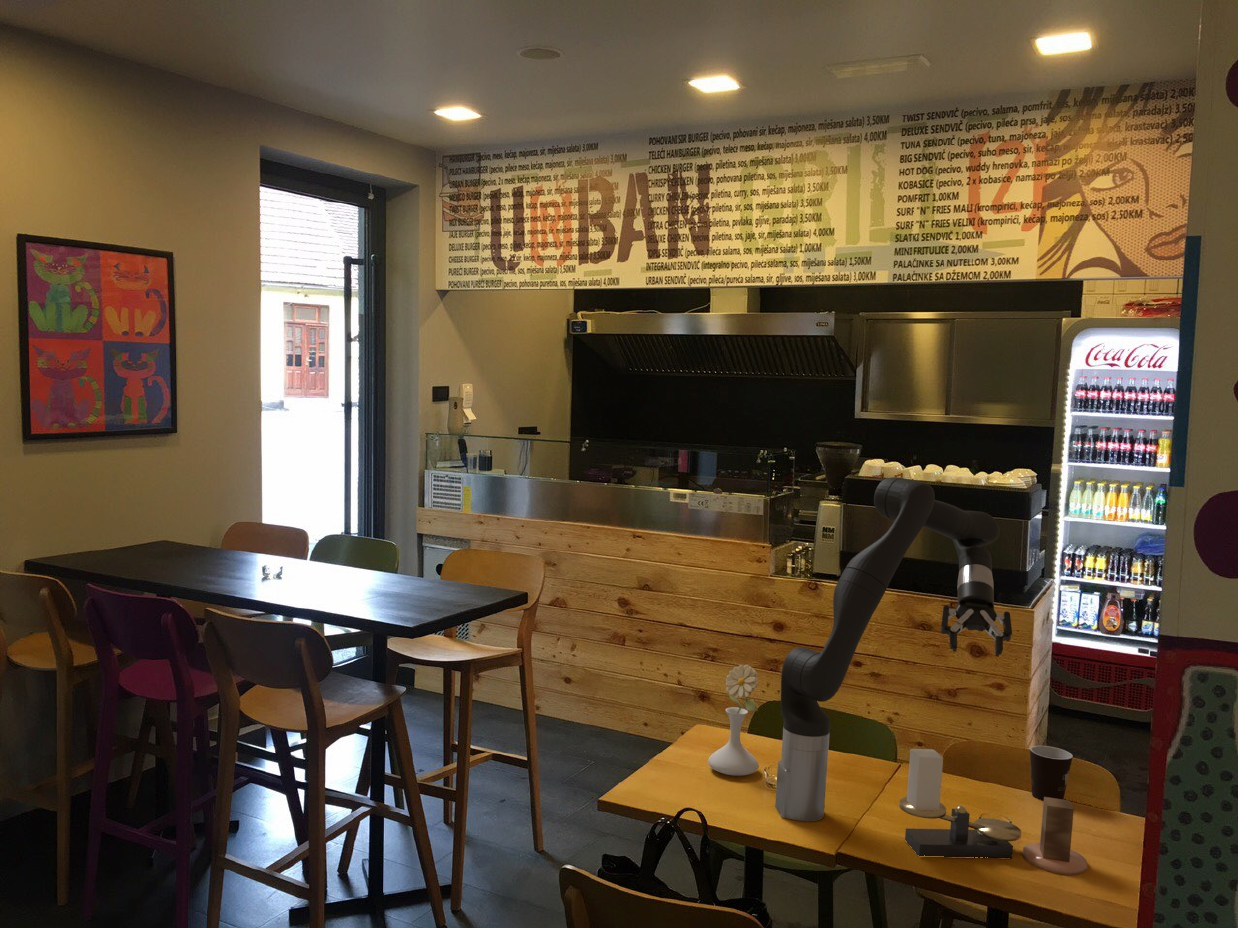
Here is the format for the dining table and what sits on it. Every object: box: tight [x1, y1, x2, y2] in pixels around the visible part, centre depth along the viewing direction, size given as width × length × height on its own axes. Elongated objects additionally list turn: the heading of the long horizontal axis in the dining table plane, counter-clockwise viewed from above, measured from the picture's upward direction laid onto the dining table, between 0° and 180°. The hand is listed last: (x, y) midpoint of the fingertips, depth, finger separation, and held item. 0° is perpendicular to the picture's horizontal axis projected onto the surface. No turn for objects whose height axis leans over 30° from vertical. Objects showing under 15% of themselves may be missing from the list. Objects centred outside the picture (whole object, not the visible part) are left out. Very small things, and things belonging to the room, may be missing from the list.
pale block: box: [906, 748, 944, 810], centre depth 188 cm, size 4×4×10 cm
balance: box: [899, 796, 1022, 860], centre depth 189 cm, size 23×8×8 cm, turn 95°
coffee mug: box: [1029, 745, 1074, 802], centre depth 220 cm, size 12×9×10 cm
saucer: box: [1022, 842, 1088, 876], centre depth 187 cm, size 11×11×1 cm
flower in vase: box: [707, 664, 760, 777], centre depth 223 cm, size 13×11×25 cm
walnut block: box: [1039, 797, 1075, 862], centre depth 187 cm, size 4×4×10 cm
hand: (976, 652), depth 211 cm, fingers open, 8 cm apart
